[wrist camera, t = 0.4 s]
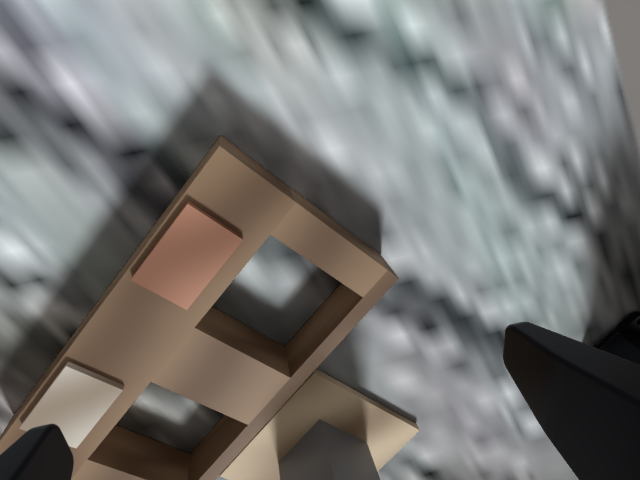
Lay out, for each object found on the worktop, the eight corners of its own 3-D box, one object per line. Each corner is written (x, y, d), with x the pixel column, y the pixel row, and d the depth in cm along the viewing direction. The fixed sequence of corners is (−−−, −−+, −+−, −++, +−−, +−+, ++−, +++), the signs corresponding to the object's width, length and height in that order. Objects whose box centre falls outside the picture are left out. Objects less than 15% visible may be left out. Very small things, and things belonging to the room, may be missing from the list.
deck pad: (416, 424, 28) (419, 430, 27) (328, 510, 29) (330, 517, 29) (312, 366, 24) (314, 372, 24) (220, 468, 26) (219, 476, 25)
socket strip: (381, 255, 22) (401, 281, 19) (184, 477, 25) (179, 523, 23) (220, 135, 18) (219, 147, 16) (13, 415, 21) (-16, 463, 19)
